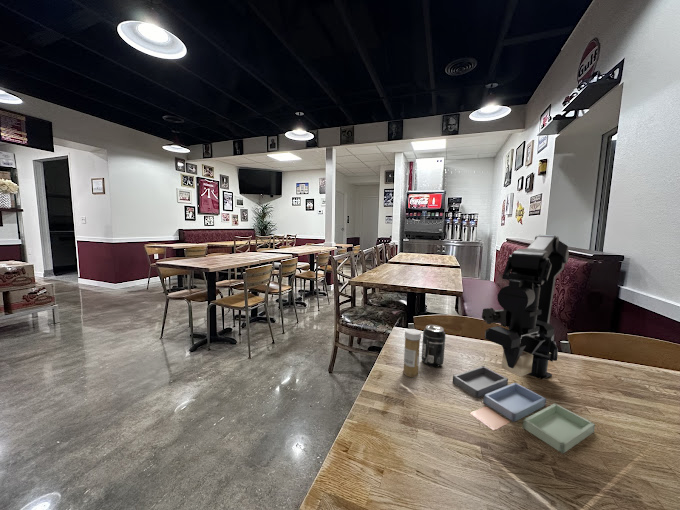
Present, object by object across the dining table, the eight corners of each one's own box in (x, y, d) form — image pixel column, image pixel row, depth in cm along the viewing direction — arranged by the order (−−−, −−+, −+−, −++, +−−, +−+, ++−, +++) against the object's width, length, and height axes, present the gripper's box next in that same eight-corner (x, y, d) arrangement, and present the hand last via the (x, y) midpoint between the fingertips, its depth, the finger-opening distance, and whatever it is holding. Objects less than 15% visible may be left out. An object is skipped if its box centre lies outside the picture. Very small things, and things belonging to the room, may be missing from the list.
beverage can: (425, 355, 93) (427, 322, 92) (445, 362, 89) (448, 327, 88) (418, 363, 88) (420, 328, 86) (439, 370, 84) (442, 333, 82)
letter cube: (512, 363, 70) (514, 346, 69) (531, 372, 66) (533, 354, 65) (501, 367, 67) (503, 350, 67) (520, 376, 64) (522, 358, 63)
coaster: (485, 408, 67) (485, 406, 67) (509, 424, 62) (510, 422, 62) (469, 415, 64) (469, 413, 64) (493, 433, 59) (493, 430, 59)
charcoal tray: (482, 373, 83) (483, 365, 83) (507, 387, 76) (508, 378, 76) (452, 384, 77) (453, 375, 77) (476, 399, 70) (477, 390, 70)
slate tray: (514, 390, 75) (515, 382, 74) (545, 407, 68) (546, 398, 68) (483, 404, 69) (484, 394, 68) (513, 424, 62) (514, 414, 62)
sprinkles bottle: (421, 375, 81) (424, 332, 80) (411, 379, 79) (413, 335, 77) (409, 368, 85) (412, 327, 83) (399, 372, 82) (401, 330, 81)
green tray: (553, 412, 66) (554, 403, 66) (593, 434, 59) (595, 423, 59) (522, 429, 60) (523, 419, 60) (562, 456, 53) (564, 444, 53)
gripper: (512, 292, 76) (506, 345, 78) (467, 298, 68) (462, 357, 69) (558, 303, 66) (551, 363, 68) (513, 312, 58) (506, 380, 59)
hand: (516, 365), depth 66 cm, fingers closed on letter cube, 4 cm apart
